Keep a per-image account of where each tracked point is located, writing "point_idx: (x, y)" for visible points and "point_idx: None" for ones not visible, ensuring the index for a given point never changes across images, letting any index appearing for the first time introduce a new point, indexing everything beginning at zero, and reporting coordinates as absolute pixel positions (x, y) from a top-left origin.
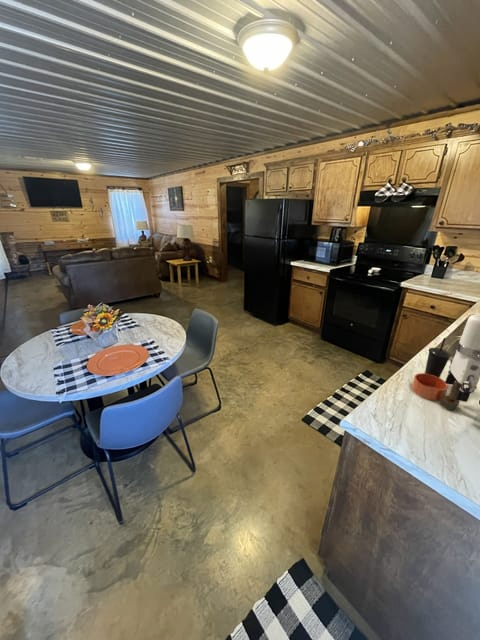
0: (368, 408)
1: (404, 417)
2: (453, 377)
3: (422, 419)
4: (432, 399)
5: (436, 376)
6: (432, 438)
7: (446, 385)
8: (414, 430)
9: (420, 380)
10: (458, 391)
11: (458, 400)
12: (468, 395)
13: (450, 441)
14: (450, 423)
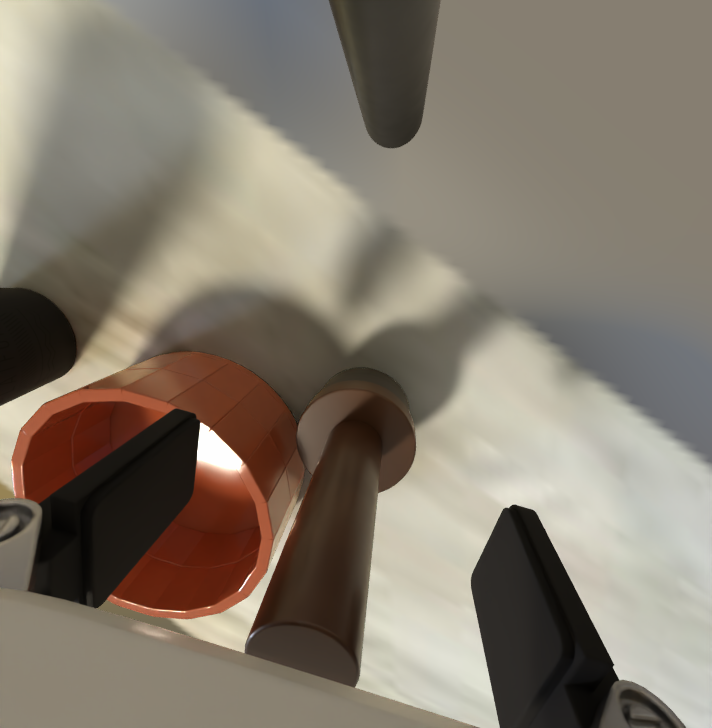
0: None
1: (474, 696)
2: (115, 539)
3: None
4: (302, 482)
5: (5, 359)
6: (646, 669)
7: None
8: None
9: None
10: (504, 714)
11: (364, 393)
12: (570, 603)
13: (687, 605)
14: (539, 509)
